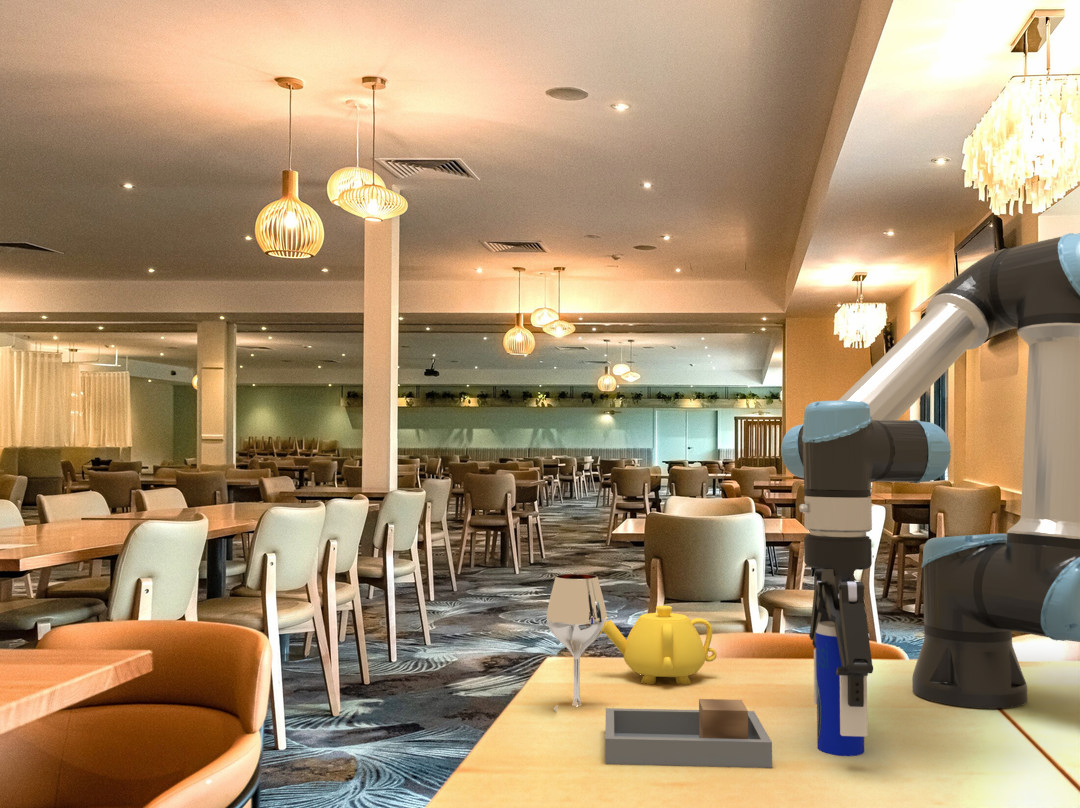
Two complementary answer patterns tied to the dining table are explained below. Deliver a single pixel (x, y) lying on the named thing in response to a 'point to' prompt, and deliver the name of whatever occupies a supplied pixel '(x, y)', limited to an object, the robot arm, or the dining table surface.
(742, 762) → the tray
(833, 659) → the beverage can
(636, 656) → the teapot
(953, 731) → the dining table surface
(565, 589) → the wineglass
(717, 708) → the walnut block
